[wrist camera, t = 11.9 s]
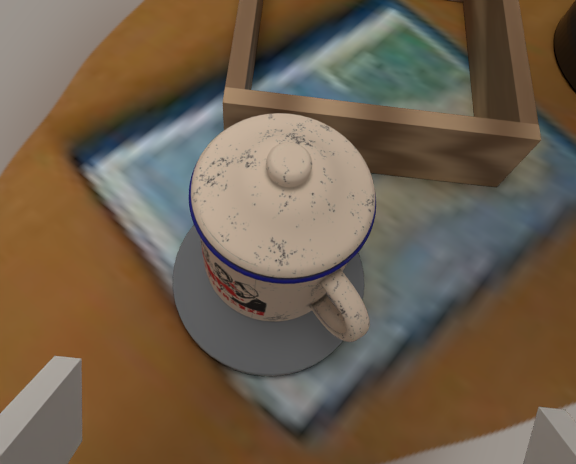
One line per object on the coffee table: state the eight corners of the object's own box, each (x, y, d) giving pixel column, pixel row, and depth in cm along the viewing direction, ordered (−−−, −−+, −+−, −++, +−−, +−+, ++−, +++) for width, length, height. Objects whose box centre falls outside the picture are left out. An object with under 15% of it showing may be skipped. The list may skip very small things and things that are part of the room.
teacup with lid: (173, 235, 32) (142, 126, 21) (291, 172, 35) (315, 47, 24) (277, 400, 29) (302, 367, 18) (399, 315, 31) (482, 242, 21)
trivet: (362, 208, 35) (365, 202, 34) (359, 385, 30) (362, 382, 29) (190, 189, 35) (189, 182, 34) (158, 366, 30) (156, 363, 29)
